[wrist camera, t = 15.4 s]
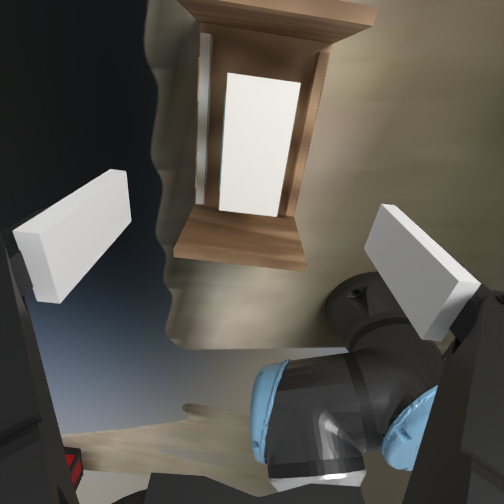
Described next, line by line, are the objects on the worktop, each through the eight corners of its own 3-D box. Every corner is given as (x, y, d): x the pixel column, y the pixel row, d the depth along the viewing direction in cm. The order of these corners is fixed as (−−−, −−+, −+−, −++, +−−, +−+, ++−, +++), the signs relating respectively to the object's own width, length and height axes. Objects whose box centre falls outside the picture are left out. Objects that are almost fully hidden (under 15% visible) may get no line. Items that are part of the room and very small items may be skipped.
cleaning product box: (83, 473, 88) (42, 568, 71) (53, 470, 87) (4, 565, 70) (80, 448, 80) (32, 549, 63) (46, 444, 79) (-11, 545, 62)
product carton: (271, 185, 38) (276, 216, 29) (225, 180, 38) (216, 210, 29) (288, 81, 32) (300, 82, 23) (232, 73, 31) (224, 72, 23)
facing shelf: (291, 218, 42) (304, 271, 31) (196, 206, 41) (173, 257, 30) (331, 33, 31) (378, 7, 19) (201, 12, 30) (168, -29, 18)
